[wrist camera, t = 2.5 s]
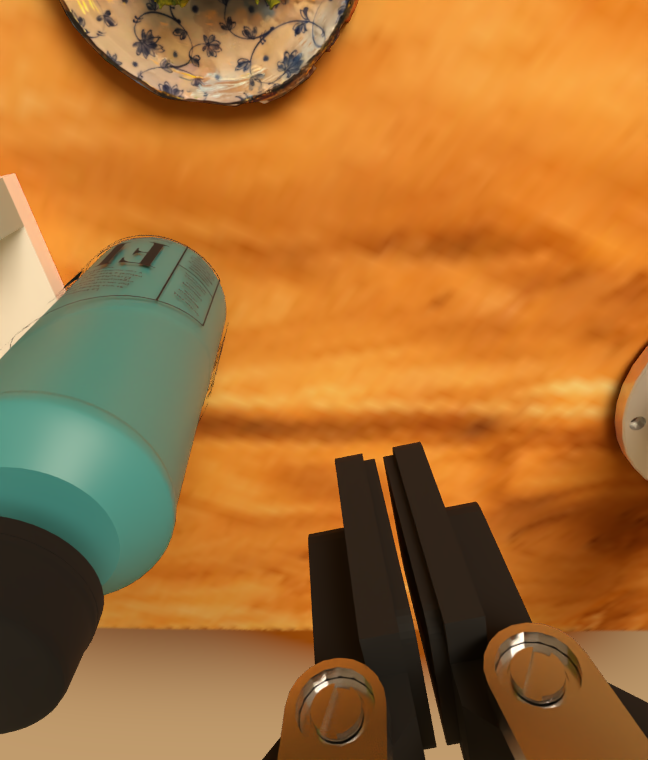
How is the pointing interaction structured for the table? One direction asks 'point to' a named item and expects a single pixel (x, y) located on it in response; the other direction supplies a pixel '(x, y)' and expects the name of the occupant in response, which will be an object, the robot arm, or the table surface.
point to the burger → (212, 43)
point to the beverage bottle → (95, 453)
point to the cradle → (22, 266)
